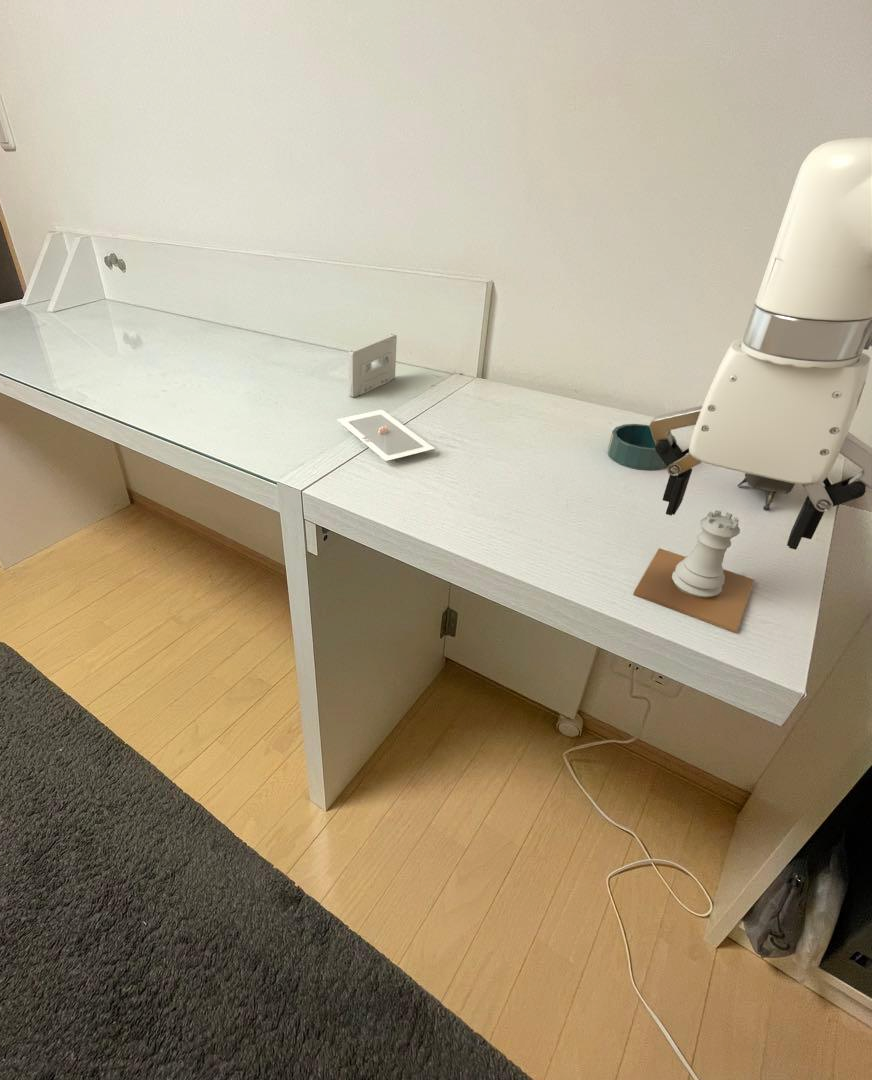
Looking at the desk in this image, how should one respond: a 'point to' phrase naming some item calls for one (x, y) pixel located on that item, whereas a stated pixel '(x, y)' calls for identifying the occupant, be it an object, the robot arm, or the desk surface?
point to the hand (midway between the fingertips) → (730, 524)
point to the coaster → (713, 610)
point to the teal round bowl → (635, 447)
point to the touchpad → (385, 435)
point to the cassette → (369, 375)
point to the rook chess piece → (707, 557)
